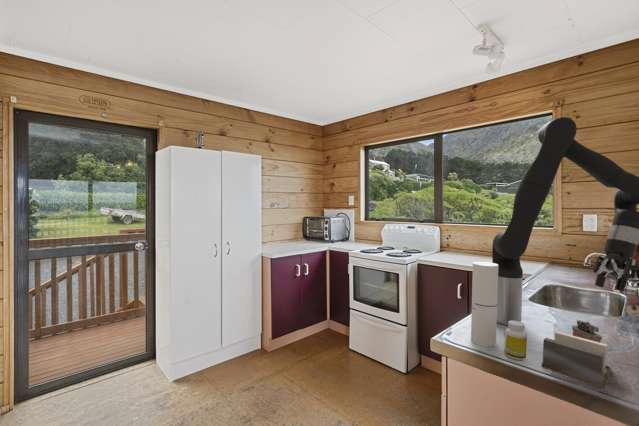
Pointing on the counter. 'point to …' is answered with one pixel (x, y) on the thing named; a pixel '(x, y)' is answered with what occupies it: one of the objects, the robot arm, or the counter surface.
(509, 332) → the supplement bottle
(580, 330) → the lighter
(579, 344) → the gauge plate
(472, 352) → the counter surface
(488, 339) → the cylindrical container
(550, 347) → the gauge base
